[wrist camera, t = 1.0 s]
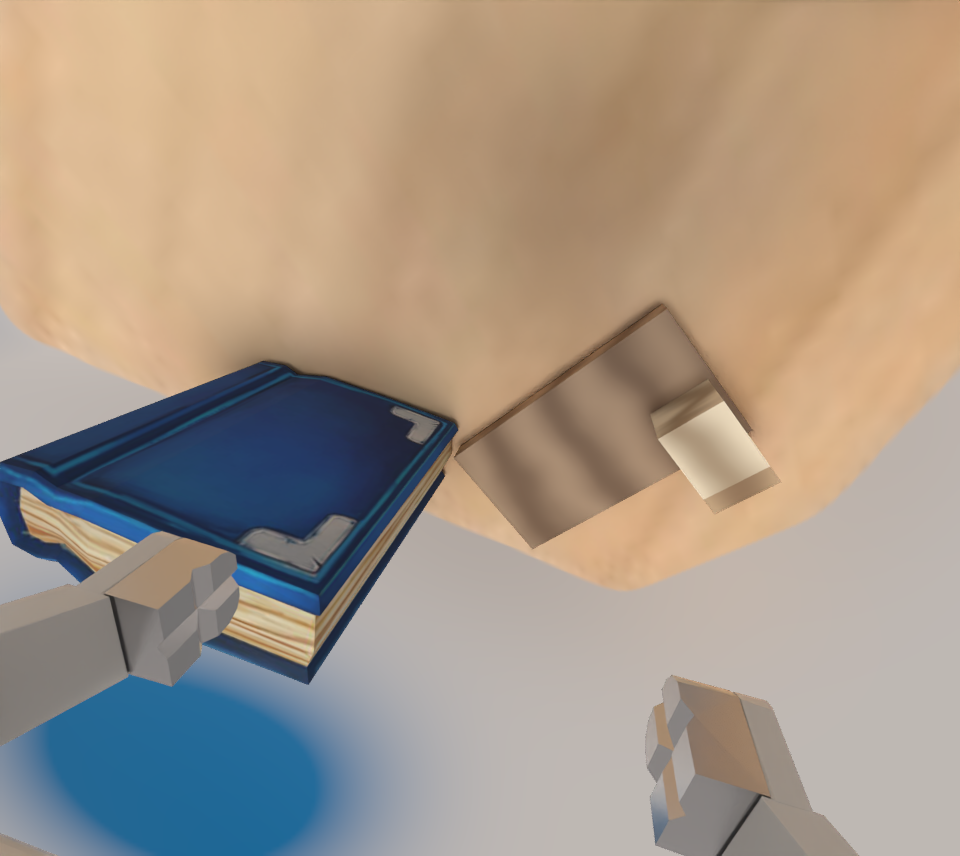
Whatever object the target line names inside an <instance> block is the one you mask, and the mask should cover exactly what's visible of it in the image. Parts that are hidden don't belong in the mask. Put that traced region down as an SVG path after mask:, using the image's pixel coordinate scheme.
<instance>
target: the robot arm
mask: <svg viewBox="0 0 960 856" xmlns="http://www.w3.org/2000/svg"><path fill="white" fill-rule="evenodd" d="M236 570H237V561H236V555H235V554H233V553H231V552H229V551H226V550H223V549H219V548H216V547H213V546H210V545H207V544H203V543H200V542H197V541H194V540H191V539H187V538H183V537H179V536H176V535H173V534H170V533H166V532H163V531H161V532H156V533H152V534H150V535H149V536H147V537H146V538H145V539H143V540H142V541H140V542H139V543H137V544H136V545H134V546H133V547H132V548H130V549H129V550H127V551H126V552H124V553H123V554H121V555H120V556H119V557H117V558H116V559H114V560H113V561H111V562H110V563H108V564H107V565H106V566H104V567H103V568H101V569H100V570H98V571H97V572H95V573H94V574H93V575H91V576H90V577H88V578H87V579H85V580H84V581H82V582H81V583H80V584H78V585H77V586H73V585H70V584H67V585H64V586H60V587H57V588H54V589H51V590H47V591H44V592H41V593H38V594H34V595H31V596H28V597H24V598H21V599H18V600H15V601H11V602H8V603H5V604H2V605H0V746H2V745H3V744H5V743H7V742H9V741H11V740H13V739H15V738H16V737H18V736H20V735H22V734H24V733H26V732H27V731H29V730H31V729H33V728H35V727H37V726H39V725H40V724H42V723H44V722H46V721H48V720H49V719H51V718H53V717H55V716H57V715H59V714H61V713H62V712H64V711H66V710H68V709H70V708H72V707H73V706H75V705H77V704H79V703H81V702H83V701H85V700H86V699H88V698H90V697H92V696H94V695H96V694H97V693H99V692H101V691H103V690H105V689H107V688H108V687H110V686H112V685H114V684H116V683H118V682H119V681H121V680H123V679H125V678H127V677H128V674H131V675H134V676H138V677H141V678H145V679H148V680H151V681H155V682H158V683H162V684H165V685H168V686H173V685H174V684H175V683H176V682H177V681H178V679H180V677H181V676H182V675H183V674H184V673H185V672H186V671H187V670H188V669H189V668H190V667H191V665H192V664H193V663H194V662H195V661H196V660H197V659H198V658H199V657H200V656H201V649H202V643H204V642H206V641H208V640H210V639H213V638H215V637H217V636H219V635H220V634H221V632H222V631H223V630H224V629H225V628H226V627H227V625H228V624H229V623H230V621H231V619H232V617H233V615H234V614H235V612H236V610H237V607H238V602H239V597H240V593H239V586H238V584H237V583H236V581H235V580H234V579H233V577H232V576H231V575H232V574H233V573H234V572H235V571H236ZM662 695H663V703H661V704H659V705H657V706H655V707H654V708H653V710H652V713H651V715H650V718H649V720H648V725H647V731H646V744H645V745H646V746H645V748H646V749H645V753H646V763H647V769H648V770H649V772H650V773H651V775H652V776H653V778H654V779H655V781H656V783H657V784H656V786H655V788H654V790H653V792H652V794H651V796H650V801H651V810H652V819H653V828H654V837H655V845H656V846H659V847H662V848H664V849H667V850H670V851H673V852H676V853H679V854H681V855H684V856H859V855H858V854H857V853H856V852H855V850H854V849H853V848H852V847H851V846H850V845H849V844H848V842H847V841H846V840H845V839H844V838H843V837H842V836H841V834H840V833H839V832H838V831H837V830H836V829H835V828H834V826H833V825H832V824H831V823H830V822H829V821H828V820H827V819H826V817H825V816H824V815H821V814H818V813H815V812H813V811H812V808H811V806H810V803H809V800H808V798H807V795H806V793H805V790H804V788H803V785H802V782H801V780H800V777H799V775H798V772H797V770H796V767H795V764H794V762H793V760H792V757H791V754H790V752H789V749H788V747H787V744H786V741H785V739H784V736H783V734H782V731H781V729H780V726H779V723H778V721H777V718H776V716H775V713H774V711H773V708H772V707H771V706H770V704H769V703H768V702H767V701H765V700H762V699H758V698H754V697H751V696H747V695H743V694H740V693H736V692H731V691H729V690H725V689H722V688H718V687H714V686H711V685H707V684H703V683H699V682H696V681H692V680H688V679H685V678H681V677H677V676H673V675H671V676H670V677H669V678H668V679H666V682H665V684H664V686H663V688H662ZM0 856H57V855H54V854H52V853H49V852H47V851H44V850H42V849H39V848H37V847H34V846H31V845H29V844H26V843H24V842H21V841H19V840H16V839H14V838H11V837H9V836H6V835H4V834H1V833H0Z"/></svg>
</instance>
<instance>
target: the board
mask: <svg viewBox="0 0 960 856" xmlns="http://www.w3.org/2000/svg"><path fill="white" fill-rule="evenodd" d="M707 379H708V380H709V381H710V383H711V384H712V385H713V387H714V388H715V389H716V391H717V392H718V393H719V395H720V396H721V397H722V399H723V400H724V402H725V403H726V404H727V406H728V407H729V409H730V410H731V411H732V413H733V414H734V416H735V417H736V419H737V420H738V421H739V423H740V424H741V426H742V427H743V428H744V430H745V431H746V433H749V432H750V431H752V429H751V427H750V426H749V424H748V423H747V422H746V420H745V419H744V417H743V416H742V414H741V413H740V412H739V410H738V409H737V407H736V406H735V405H734V403H733V402H732V400H731V399H730V397H729V396H728V395H727V393H726V392H725V390H724V389H723V388H722V386H721V385H720V383H719V382H718V380H717V379H716V378H715V376H714V375H713V373H712V372H711V370H710V369H709V368H708V366H707V365H706V363H705V362H704V361H703V359H702V358H701V356H700V355H699V353H698V352H697V351H696V349H695V348H694V346H693V345H692V344H691V342H690V341H689V339H688V338H687V336H686V335H685V334H684V332H683V331H682V329H681V328H680V326H679V325H678V324H677V322H676V321H675V319H674V318H673V317H672V315H671V314H670V312H669V311H668V309H667V308H666V307H665V306H664V305H663V304H662V305H660V306H659V307H657V308H656V309H655V310H653V311H652V312H650V313H649V314H647V315H646V316H645V317H643V318H642V319H640V320H639V321H638V322H636V323H635V324H633V325H632V326H630V327H629V328H628V329H626V330H625V331H623V332H622V333H621V334H619V335H618V336H616V337H615V338H613V339H612V340H611V341H609V342H608V343H606V344H605V345H604V346H602V347H601V348H599V349H598V350H596V351H595V352H594V353H592V354H591V355H589V356H588V357H587V358H585V359H584V360H582V361H581V362H579V363H578V364H577V365H575V366H574V367H572V368H571V369H570V370H568V371H567V372H565V373H564V374H562V375H561V376H560V377H558V378H557V379H555V380H554V381H553V382H551V383H550V384H548V385H547V386H545V387H544V388H543V389H541V390H540V391H538V392H537V393H536V394H534V395H533V396H531V397H530V398H528V399H527V400H526V401H524V402H523V403H521V404H520V405H519V406H517V407H516V408H514V409H513V410H511V411H510V412H509V413H507V414H506V415H504V416H503V417H502V418H500V419H499V420H497V421H496V422H494V423H493V424H492V425H490V426H489V427H487V428H486V429H484V430H483V431H482V432H480V433H479V434H477V435H476V436H475V437H473V438H472V439H470V440H469V441H467V442H466V443H465V444H463V445H462V446H460V448H459V450H458V451H457V453H456V455H455V456H454V459H455V460H456V461H457V462H458V463H459V465H460V466H461V467H462V468H463V469H464V470H465V472H466V473H467V474H468V475H469V476H470V477H471V479H472V480H473V481H474V482H475V483H476V484H477V485H478V487H479V488H480V489H481V490H482V491H483V492H484V494H485V495H486V496H487V497H488V498H489V499H490V501H491V502H492V503H493V504H494V505H495V506H496V507H497V509H498V510H499V511H500V512H501V513H502V514H503V516H504V517H505V518H506V519H507V520H508V521H509V523H510V524H511V525H512V526H513V527H514V528H515V530H516V531H517V532H518V533H519V534H520V535H521V536H522V538H523V539H524V540H525V541H526V542H527V543H528V545H529V546H530V547H531V548H532V549H534V548H536V547H537V546H539V545H541V544H543V543H545V542H547V541H549V540H550V539H552V538H554V537H556V536H558V535H560V534H562V533H563V532H565V531H567V530H569V529H571V528H573V527H575V526H576V525H578V524H580V523H582V522H584V521H586V520H587V519H589V518H591V517H593V516H595V515H597V514H599V513H600V512H602V511H604V510H606V509H608V508H610V507H612V506H613V505H615V504H617V503H619V502H621V501H623V500H625V499H626V498H628V497H630V496H632V495H634V494H636V493H637V492H639V491H641V490H643V489H645V488H647V487H649V486H650V485H652V484H654V483H656V482H658V481H660V480H662V479H663V478H665V477H667V476H669V475H671V474H673V473H675V472H676V471H678V470H680V468H679V467H678V465H677V464H676V463H675V461H674V460H673V459H672V457H671V456H670V455H669V453H668V452H667V451H666V449H665V448H664V447H663V445H662V444H661V443H660V441H659V440H658V438H657V435H656V431H655V428H654V425H653V422H652V418H651V415H650V414H651V413H653V412H655V411H656V410H658V409H660V408H661V407H663V406H664V405H666V404H668V403H669V402H671V401H673V400H674V399H676V398H678V397H679V396H681V395H683V394H684V393H686V392H688V391H689V390H691V389H692V388H694V387H696V386H697V385H699V384H701V383H702V382H704V381H706V380H707Z"/></svg>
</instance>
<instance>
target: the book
mask: <svg viewBox="0 0 960 856" xmlns="http://www.w3.org/2000/svg"><path fill="white" fill-rule="evenodd" d="M457 431H458V428H457V426H456V425H455V423H453V422H450V421H448V420H445V419H443V418H440V417H437V416H435V415H432V414H430V413H427V412H424V411H422V410H419V409H417V408H414V407H411V406H409V405H406V404H404V403H401V402H398V401H396V400H393V399H390V398H387V397H385V396H382V395H379V394H376V393H373V392H370V391H367V390H364V389H361V388H358V387H355V386H352V385H349V384H346V383H343V382H340V381H338V380H335V379H332V378H329V377H324V376H310V375H298V374H296V373H295V372H294V371H292V370H291V369H290V368H288V367H287V366H285V365H281V364H276V363H271V362H266V361H262V362H260V363H257V364H254V365H252V366H249V367H247V368H244V369H241V370H239V371H236V372H234V373H231V374H228V375H226V376H223V377H221V378H218V379H215V380H213V381H210V382H207V383H205V384H202V385H200V386H197V387H194V388H192V389H189V390H187V391H184V392H181V393H179V394H176V395H174V396H171V397H168V398H166V399H163V400H161V401H158V402H155V403H153V404H150V405H148V406H145V407H142V408H140V409H137V410H135V411H132V412H129V413H127V414H124V415H121V416H119V417H116V418H114V419H111V420H108V421H106V422H104V423H101V424H98V425H95V426H93V427H90V428H88V429H85V430H82V431H80V432H77V433H75V434H72V435H70V436H67V437H64V438H62V439H59V440H56V441H54V442H51V443H49V444H46V445H43V446H41V447H39V448H36V449H33V450H30V451H28V452H25V453H22V454H20V455H17V456H15V457H12V458H10V459H7V460H4V461H2V462H0V517H1V519H2V522H3V524H4V526H5V528H6V531H7V533H8V535H9V538H10V540H11V542H12V544H13V545H15V546H17V547H19V548H20V549H22V550H24V551H26V552H28V553H29V554H31V555H33V556H35V557H37V558H41V559H46V560H50V561H56V562H59V563H60V564H61V565H62V566H63V567H64V568H65V569H66V570H67V571H68V572H69V573H71V575H73V576H74V577H75V578H76V579H77V580H78V581H79V582H80V583H81V582H82V581H84V580H85V579H87V578H88V577H90V576H91V575H93V574H94V573H95V572H97V571H98V570H100V569H101V568H103V567H104V566H106V565H107V564H108V563H110V562H111V561H113V560H114V559H116V558H117V557H119V556H120V555H121V554H123V553H124V552H126V551H127V550H129V549H130V548H132V547H133V546H134V545H136V544H137V543H139V542H140V541H142V540H143V539H145V538H146V537H147V536H149V535H150V534H152V533H156V532H161V531H163V532H166V533H170V534H173V535H176V536H179V537H183V538H187V539H191V540H194V541H197V542H200V543H203V544H207V545H210V546H213V547H216V548H219V549H223V550H226V551H229V552H231V553H233V554H235V555H236V561H237V570H236V571H235V572H234V573H233V574H232V575H231V576H232V577H233V579H234V580H235V581H236V583H237V584H238V586H239V593H240V597H239V602H238V607H237V610H236V612H235V614H234V615H233V617H232V619H231V621H230V623H229V624H228V625H227V627H226V628H225V629H224V630H223V631H222V632H221V634H220V635H219V636H217V637H215V638H213V639H210V640H208V641H206V642H204V643H202V645H205V646H208V647H210V648H213V649H215V650H218V651H221V652H224V653H226V654H229V655H231V656H234V657H237V658H239V659H242V660H244V661H247V662H250V663H252V664H255V665H258V666H260V667H263V668H266V669H268V670H271V671H274V672H276V673H279V674H281V675H284V676H287V677H289V678H292V679H294V680H297V681H299V682H302V683H304V684H309V683H310V682H311V680H312V678H313V677H314V675H315V674H316V672H317V671H318V669H319V668H320V666H321V665H322V663H323V662H324V660H325V659H326V657H327V656H328V654H329V653H330V651H331V649H332V648H333V646H334V645H335V643H336V642H337V640H338V639H339V637H340V636H341V634H342V633H343V631H344V629H345V628H346V627H347V625H348V624H349V622H350V621H351V619H352V617H353V616H354V614H355V613H356V611H357V610H358V608H359V607H360V605H361V604H362V602H363V601H364V599H365V597H366V596H367V595H368V593H369V592H370V590H371V588H372V587H373V585H374V584H375V582H376V581H377V579H378V578H379V576H380V575H381V573H382V572H383V570H384V569H385V567H386V566H387V564H388V563H389V561H390V559H391V558H392V556H393V555H394V553H395V552H396V550H397V549H398V547H399V546H400V544H401V543H402V541H403V540H404V538H405V537H406V535H407V534H408V532H409V530H410V529H411V527H412V526H413V524H414V523H415V521H416V520H417V518H418V517H419V515H420V514H421V512H422V511H423V509H424V508H425V506H426V505H427V503H428V501H429V500H430V498H431V497H432V495H433V494H434V492H435V491H436V489H437V488H438V486H439V485H440V483H441V482H442V480H443V479H444V477H445V475H444V474H443V472H442V471H441V470H442V469H443V467H444V465H445V464H446V462H447V460H448V459H449V457H450V455H451V454H452V450H451V439H452V438H453V437H454V435H455V434H456V432H457Z"/></svg>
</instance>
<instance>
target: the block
mask: <svg viewBox="0 0 960 856" xmlns="http://www.w3.org/2000/svg"><path fill="white" fill-rule="evenodd" d="M650 415H651V418H652V422H653V425H654V428H655V431H656V435H657V438H658V440H659V441H660V443H661V444H662V445H663V447H664V448H665V449H666V451H667V452H668V453H669V455H670V456H671V457H672V459H673V460H674V461H675V463H676V464H677V465H678V467H679V468H680V469H681V470H682V472H683V473H684V474H685V476H686V477H687V478H688V480H689V481H690V482H691V484H692V485H693V486H694V488H695V489H696V490H697V492H698V493H699V494H700V496H701V497H702V498H703V500H704V501H705V502H706V504H707V505H708V506H709V508H710V509H711V510H712V512H713V513H714V514H716V513H718V512H720V511H722V510H725V509H727V508H729V507H731V506H733V505H735V504H737V503H739V502H741V501H743V500H745V499H747V498H749V497H752V496H754V495H756V494H758V493H760V492H762V491H764V490H766V489H768V488H770V487H772V486H774V485H776V484H778V483H781V481H780V479H779V478H778V476H777V475H776V474H775V472H774V471H773V469H772V468H771V467H770V465H769V464H768V462H767V461H766V459H765V458H764V457H763V455H762V454H761V452H760V451H759V450H758V448H757V447H756V445H755V444H754V443H753V441H752V440H751V438H750V437H749V435H748V434H747V433H746V431H745V430H744V428H743V427H742V426H741V424H740V423H739V421H738V420H737V419H736V417H735V416H734V414H733V413H732V411H731V410H730V409H729V407H728V406H727V404H726V403H725V402H724V400H723V399H722V397H721V396H720V395H719V393H718V392H717V391H716V389H715V388H714V387H713V385H712V384H711V383H710V381H709V380H708V379H707V380H706V381H704V382H702V383H701V384H699V385H697V386H696V387H694V388H692V389H691V390H689V391H688V392H686V393H684V394H683V395H681V396H679V397H678V398H676V399H674V400H673V401H671V402H669V403H668V404H666V405H664V406H663V407H661V408H660V409H658V410H656V411H655V412H653V413H651V414H650Z"/></svg>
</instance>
